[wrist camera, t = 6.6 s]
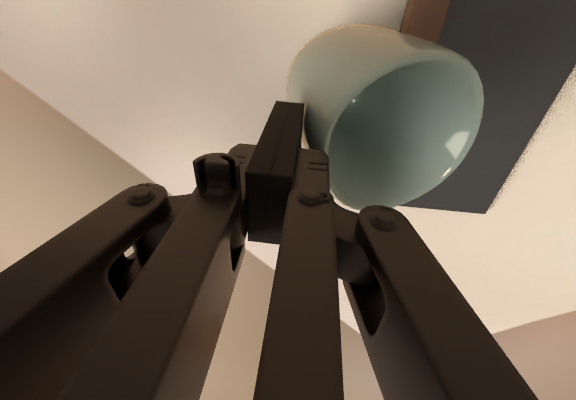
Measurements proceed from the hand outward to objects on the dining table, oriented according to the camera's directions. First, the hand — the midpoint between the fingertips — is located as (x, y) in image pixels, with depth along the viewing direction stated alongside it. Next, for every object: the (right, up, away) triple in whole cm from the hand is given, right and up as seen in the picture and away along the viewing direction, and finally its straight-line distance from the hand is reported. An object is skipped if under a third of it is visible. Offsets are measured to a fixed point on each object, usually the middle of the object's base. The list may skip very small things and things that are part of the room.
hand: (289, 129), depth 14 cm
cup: (+3, +5, +6) cm, 9 cm away
